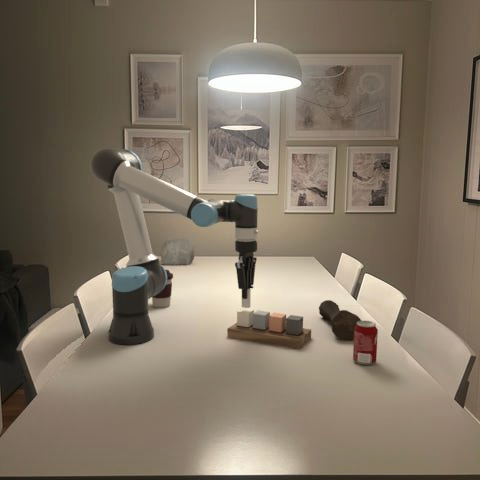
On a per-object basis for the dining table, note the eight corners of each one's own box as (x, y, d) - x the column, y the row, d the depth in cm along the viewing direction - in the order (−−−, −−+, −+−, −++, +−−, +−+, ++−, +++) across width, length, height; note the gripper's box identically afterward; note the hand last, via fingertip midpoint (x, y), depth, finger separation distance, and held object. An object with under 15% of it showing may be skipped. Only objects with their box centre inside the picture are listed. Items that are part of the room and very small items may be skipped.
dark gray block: (298, 335, 160) (298, 320, 159) (285, 333, 162) (286, 318, 161) (302, 331, 164) (303, 316, 163) (290, 329, 166) (290, 314, 165)
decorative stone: (159, 265, 290) (163, 262, 300) (192, 266, 289) (195, 262, 299) (158, 238, 288) (162, 235, 298) (192, 238, 287) (194, 235, 297)
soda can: (372, 368, 142) (374, 328, 140) (349, 363, 145) (351, 324, 144) (379, 360, 147) (380, 322, 146) (357, 356, 151) (358, 318, 149)
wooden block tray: (299, 349, 156) (300, 340, 156) (227, 336, 167) (227, 328, 167) (311, 337, 167) (311, 329, 167) (242, 326, 178) (242, 318, 178)
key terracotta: (281, 332, 163) (281, 317, 162) (269, 330, 164) (269, 316, 164) (286, 328, 167) (286, 314, 166) (273, 326, 168) (274, 312, 168)
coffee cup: (168, 309, 199) (168, 273, 197) (145, 308, 201) (145, 272, 199) (176, 303, 209) (176, 268, 207) (154, 301, 211) (154, 267, 209)
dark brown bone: (356, 348, 164) (331, 331, 191) (370, 320, 164) (343, 307, 192) (328, 334, 162) (307, 318, 190) (343, 305, 163) (320, 294, 191)
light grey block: (264, 329, 165) (264, 315, 164) (252, 327, 167) (253, 313, 166) (269, 326, 169) (269, 312, 168) (257, 324, 171) (258, 310, 170)
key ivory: (248, 327, 168) (248, 313, 167) (237, 325, 170) (237, 311, 169) (253, 323, 172) (253, 309, 171) (242, 321, 174) (242, 308, 173)
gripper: (248, 243, 159) (248, 313, 162) (263, 238, 171) (263, 303, 174) (227, 241, 162) (227, 310, 165) (244, 236, 174) (244, 301, 177)
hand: (246, 307), depth 170 cm, fingers closed
